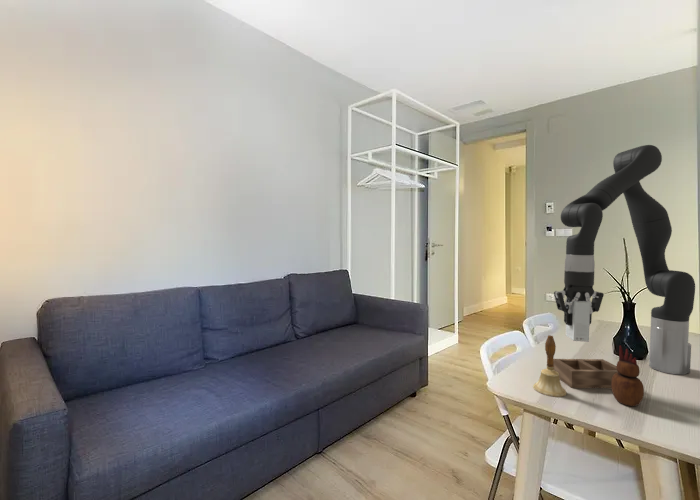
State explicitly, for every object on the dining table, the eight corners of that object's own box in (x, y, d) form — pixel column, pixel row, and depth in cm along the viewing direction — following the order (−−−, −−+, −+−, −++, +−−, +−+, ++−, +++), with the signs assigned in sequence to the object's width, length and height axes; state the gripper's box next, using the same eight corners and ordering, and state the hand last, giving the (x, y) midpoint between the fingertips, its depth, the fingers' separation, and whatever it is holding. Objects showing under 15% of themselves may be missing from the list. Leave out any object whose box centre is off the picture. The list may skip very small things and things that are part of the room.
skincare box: (589, 342, 100) (590, 302, 100) (573, 341, 101) (574, 301, 100) (580, 336, 106) (581, 298, 106) (565, 335, 107) (566, 298, 106)
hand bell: (566, 399, 92) (568, 341, 91) (532, 392, 96) (533, 337, 96) (566, 388, 99) (567, 334, 98) (534, 381, 103) (535, 330, 103)
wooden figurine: (605, 397, 93) (607, 343, 93) (625, 396, 94) (627, 343, 93) (627, 409, 86) (630, 352, 86) (648, 408, 87) (650, 351, 86)
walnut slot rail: (602, 374, 108) (602, 359, 108) (627, 388, 99) (627, 371, 98) (552, 374, 109) (552, 358, 109) (571, 387, 99) (572, 371, 99)
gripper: (594, 268, 106) (592, 322, 107) (548, 268, 106) (546, 321, 107) (612, 271, 99) (610, 328, 99) (562, 270, 99) (560, 328, 100)
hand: (577, 324), depth 103 cm, fingers closed on skincare box, 4 cm apart
